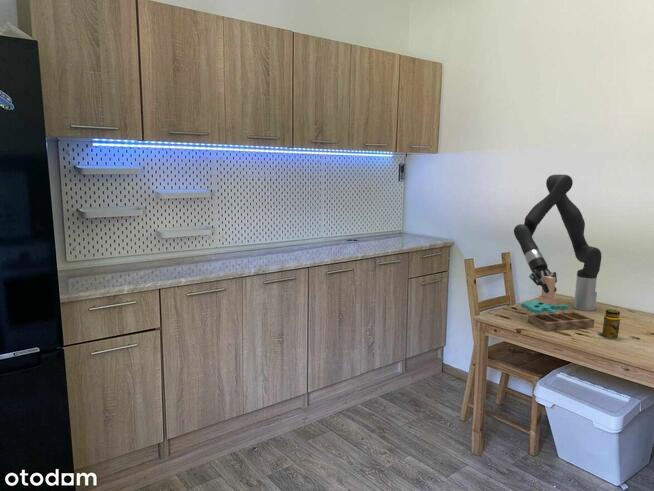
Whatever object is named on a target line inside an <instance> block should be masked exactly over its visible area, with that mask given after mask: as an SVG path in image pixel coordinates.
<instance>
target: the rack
mask: <svg viewBox="0 0 654 491" xmlns="http://www.w3.org/2000/svg"><path fill="white" fill-rule="evenodd" d="M527 323H528V324H530V325H532V326H534V327H536V328H539V329H541V330H543V331H545V332H555V331H565V330H567V331H568V330H577V329H589V328H594V325H595V319H594V318H592V317H589V316H586V315H583V314H580V313H579V312H576V311H564V312H562V311H561V312H557V313H547V312H546V313H540V314H538V313H533V314H528V316H527Z"/></svg>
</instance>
